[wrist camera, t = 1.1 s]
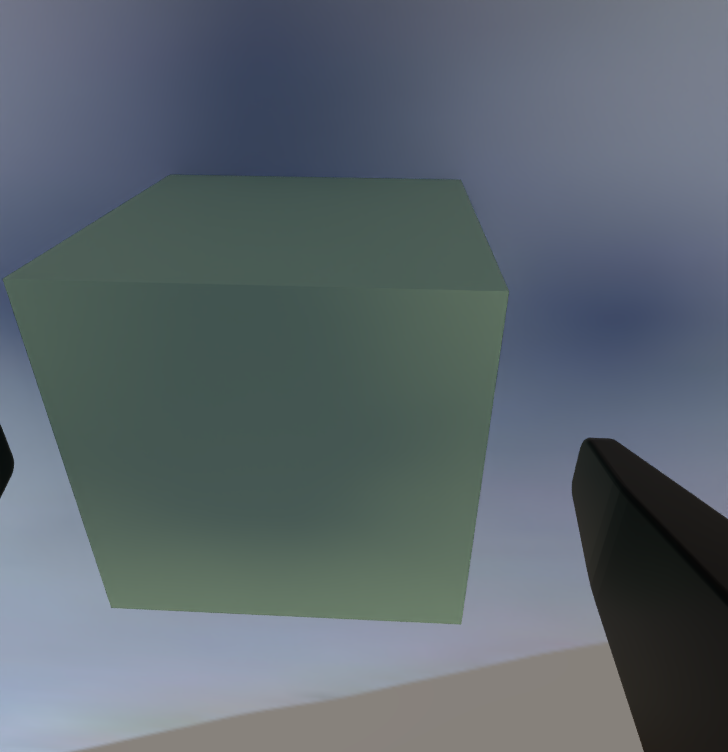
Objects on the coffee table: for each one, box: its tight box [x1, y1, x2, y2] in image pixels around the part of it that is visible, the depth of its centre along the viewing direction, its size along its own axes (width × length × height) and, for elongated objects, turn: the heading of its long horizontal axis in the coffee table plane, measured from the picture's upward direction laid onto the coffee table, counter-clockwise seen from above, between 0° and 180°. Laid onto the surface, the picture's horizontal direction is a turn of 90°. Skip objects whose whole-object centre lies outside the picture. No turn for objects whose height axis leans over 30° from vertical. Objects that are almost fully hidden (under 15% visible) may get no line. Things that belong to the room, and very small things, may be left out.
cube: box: [3, 175, 509, 624], centre depth 11 cm, size 6×6×6 cm
